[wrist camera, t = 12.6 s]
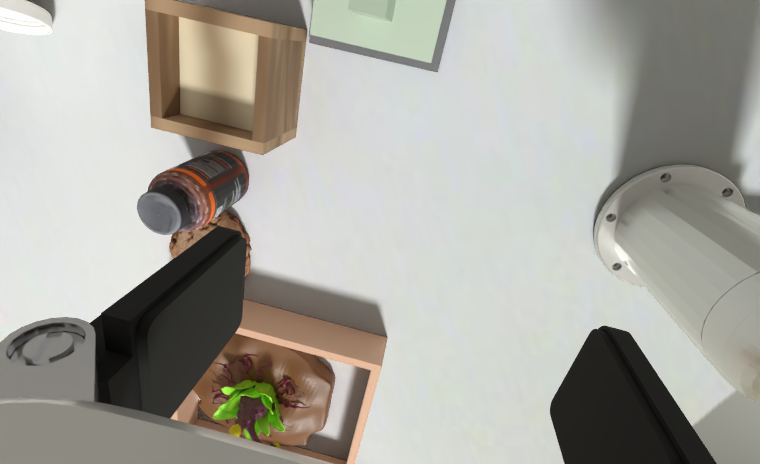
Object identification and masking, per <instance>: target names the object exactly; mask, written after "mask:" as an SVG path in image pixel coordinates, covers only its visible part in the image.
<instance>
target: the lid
mask: <svg viewBox="0 0 760 464" xmlns="http://www.w3.org/2000/svg"><path fill="white" fill-rule="evenodd" d="M446 1H447V0H314V2H313V10H312V19H311V27H310V35H314V36H318V37H322V38H327V39H331V40H335V41H339V42H343V43H348V44H352V45H356V46H360V47H365V48H369V49H373V50H377V51H381V52H386V53H390V54H394V55H398V56H403V57H407V58H411V59H415V60H419V61H424V62H428V63H431V62H432V58H433V54H434V50H435V46H436V42H437V38H438V34H439V29H440V25H441V21H442V17H443V13H444V9H445V5H446Z"/></svg>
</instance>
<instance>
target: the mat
mask: <svg viewBox="0 0 760 464" xmlns="http://www.w3.org/2000/svg"><path fill="white" fill-rule="evenodd" d="M454 4H455V0H447V1H446V5H445V9H444V13H443V17H442V21H441V25H440V29H439V34H438V38H437V42H436V46H435V50H434V54H433V58H432V62H431V63H428V62H424V61H419V60H415V59H411V58H407V57H403V56H398V55H394V54H390V53H386V52H381V51H377V50H373V49H369V48H365V47H360V46H356V45H352V44H348V43H343V42H339V41H335V40H331V39H327V38H322V37H318V36H314V35H310V40H309V43H313V44H317V45H322V46H326V47H330V48H334V49H339V50H343V51H347V52H352V53H356V54H360V55H365V56H369V57H373V58H378V59H382V60H386V61H391V62H395V63H399V64H404V65H408V66H412V67H417V68H421V69H425V70H430V71H434V72H438V68H439V64H440V60H441V56H442V52H443V48H444V44H445V40H446V36H447V32H448V28H449V24H450V20H451V16H452V12H453V8H454Z"/></svg>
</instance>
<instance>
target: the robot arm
mask: <svg viewBox="0 0 760 464" xmlns="http://www.w3.org/2000/svg"><path fill="white" fill-rule="evenodd" d="M662 175H663V176H662ZM661 176H662V177H661ZM660 177H661V178H660ZM609 214H610V215H609ZM607 215H609V216H607ZM594 243H595V249H596V251H597V254H598V256H599V258H600V259H601V261H602V262H603V264H604V265H605V266H606V268H607V269H608V270H609V271H610V272H611V273H612V274H613V275H615V276H616V277H618V278H619V279H621V280H623V281H625V282H627V283H629V284H632V285H636V286H640V287H645V288H646V289H647V290H648V291H649V292H650V294H651V295H652V296H653V297H654V298H655V299H656V301H657V302H658V303H659V304H660V305H661V306H662V308H663V309H664V310H665V311H666V312H667V313H668V315H669V316H670V317H671V318H672V319H673V320H674V322H675V323H676V324H677V325H678V326H679V327H680V329H681V330H682V331H683V332H684V333H685V334H686V336H687V337H688V338H689V339H690V340H691V341H692V343H693V344H694V345H695V346H696V347H697V348H698V349H699V351H700V352H701V353H702V354H703V355H704V356H705V357H706V359H707V360H708V361H709V362H710V363H711V364H712V365H713V367H714V368H715V369H716V370H717V371H718V372H719V373H720V375H721V376H722V377H723V378H724V379H725V380H726V381H727V382H728V383H729V384H730V385H731V386H732V387H734V388H735V389H736V390H737V391H739V392H740V393H741V394H743V395H744V396H746V397H747V398H749V399H751V400H753V401H754V402H756V403H758V404H760V216H758V215H756V214H754V213H753V212H751V211H749V210H747V209H746V207H745V203H744V199H743V197H742V195H741V193H740V192H739V190H738V188H737V187H736V186H735V185H734V184H733V183H732V182H731V181H730V180H729V179H727V178H725V177H724V176H722V175H721V174H719V173H717V172H714V171H712V170H710V169H707V168H703V167H699V166H695V165H681V164H678V165H669V166H663V167H659V168H656V169H652V170H649V171H647V172H644V173H642V174H640V175H638V176H635V177H634V178H632V179H631V180H629V181H628V182H626V183H625V184H623V185H622V186H621V187H620V188H619V189H617V190H616V191H615V192H614V193H613V194H612V195H611V196H610V198H609V199H608V200H607V201H606V203H605V204H604V206H603V207H602V209H601V211H600V213H599V215H598V217H597V221H596V224H595V228H594ZM246 251H247V240H246V238H243V237H242V235H241V232H240V231H237V230H233V229H230V228H226V227H222V226H217V227H216V228H214V229H213V230H212V231H210V232H209V233H208V234H206V235H205V236H204V237H202V238H201V239H200V240H198V241H197V242H196V243H194V244H193V245H192V246H190V247H189V248H188V249H186V250H185V251H184V252H182V253H181V254H180V255H178V256H177V257H176V258H174V259H173V260H172V261H170V262H169V263H168V264H166V265H165V266H164V267H162V268H161V269H160V270H158V271H157V272H156V273H154V274H153V275H152V276H150V277H149V278H148V279H146V280H145V281H144V282H142V283H141V284H140V285H138V286H137V287H136V288H134V289H133V290H132V291H130V292H129V293H128V294H126V295H125V296H124V297H122V298H121V299H120V300H118V301H117V302H116V303H114V304H113V305H112V306H110V307H109V308H108V309H106V310H105V311H104V312H102V313H101V315H100V316H99V317H97V318H96V319H95V320H93V321H92V322H91V323H88V322H86V321H84V320H81V319H78V318H68V317H62V318H50V319H46V320H42V321H37V322H34V323H32V324H29V325H26V326H24V327H21V328H20V329H18V330H16V331H14V332H13V333H11V334H9V335H8V336H7V337H6V338H5V339H4V340H3V341H1V342H0V464H333V463H329V462H326V461H322V460H319V459H315V458H312V457H308V456H304V455H301V454H297V453H294V452H290V451H287V450H283V449H280V448H276V447H272V446H269V445H265V444H262V443H258V442H255V441H251V440H247V439H244V438H240V437H237V436H233V435H230V434H226V433H223V432H219V431H215V430H212V429H208V428H204V427H200V426H196V425H192V424H189V423H185V422H181V421H177V420H173V419H170V418H171V417H172V416H173V414H174V413H175V412H176V411H177V409H178V408H179V407H180V405H181V404H182V403H183V401H184V400H185V399H186V397H187V396H188V395H189V393H190V392H191V391H192V389H193V388H194V387H195V385H196V384H197V383H198V381H199V380H200V379H201V377H202V376H203V375H204V374H205V372H206V371H207V370H208V368H209V367H210V366H211V364H212V363H213V362H214V360H215V359H216V358H217V356H218V355H219V354H220V352H221V351H222V350H223V348H224V347H225V346H226V344H227V343H228V342H229V340H230V339H231V338H232V336H233V335H234V334H235V333H236V331H237V330H238V328H239V326H240V324H241V320H242V313H243V298H244V282H245V266H246ZM550 415H551V419H552V422H553V425H554V429H555V432H556V436H557V439H558V443H559V446H560V449H561V453H562V456H563V460H564V463H565V464H716V462H715V461H714V459H713V458H712V456H711V455H710V453H709V452H708V450H707V448H706V447H705V445H704V444H703V442H702V441H701V440H700V438H699V436H698V435H697V433H696V432H695V430H694V429H693V427H692V426H691V424H690V423H689V421H688V420H687V418H686V417H685V415H684V414H683V412H682V411H681V409H680V408H679V406H678V405H677V403H676V402H675V400H674V399H673V397H672V396H671V394H670V393H669V391H668V390H667V388H666V387H665V385H664V384H663V382H662V381H661V379H660V378H659V376H658V375H657V373H656V372H655V370H654V369H653V367H652V366H651V364H650V363H649V361H648V360H647V358H646V357H645V355H644V354H643V352H642V351H641V349H640V348H639V346H638V345H637V343H636V342H635V340H634V339H633V337H632V335H631V334H630V333H629V332H627V331H623V330H620V329H616V328H612V327H608V326H601V327H600V328H599V329H598V330H597V329H594V330H592V331H591V332H590V334H589V336H588V337H587V339H586V341H585V343H584V345H583V346H582V348H581V350H580V352H579V354H578V355H577V357H576V359H575V361H574V362H573V364H572V366H571V368H570V370H569V371H568V373H567V375H566V377H565V378H564V380H563V382H562V384H561V386H560V387H559V389H558V391H557V393H556V394H555V396H554V398H553V400H552V402H551V406H550Z"/></svg>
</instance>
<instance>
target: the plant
mask: <svg viewBox="0 0 760 464" xmlns="http://www.w3.org/2000/svg"><path fill="white" fill-rule="evenodd" d="M334 383H335V375H334V373H333V372H332V371H331V370H330V369H328V368H327V367H326V366H325V365H324V364H323V363H322V362H321V361H320V360H319V359H318V358H317V356H316V355H313V354H309V353H306V352H302V351H298V350H295V349H291V348H287V347H284V346H280V345H276V344H273V343H269V342H266V341H262V340H258V339H255V338H251V337H247V336H244V335H240V334H236V333H235V334H234V335H233V336H232V338H231V339H230V340H229V342H228V343H227V344H226V346H225V347H224V348H223V350H222V351H221V352H220V354H219V355H218V356H217V358H216V359H215V360H214V362H213V363H212V364H211V366H210V367H209V368H208V370H207V371H206V372H205V374H204V375H203V376H202V377H201V379H200V380H199V381H198V383H197V384H196V385H195V387H194V388H193V391H194V392H195V393H196V394H197V395H198V397H199V398H200V399H201V400H200V402H199V403H198V406H199V407H200V409H201V410H202V411H203V412H204V413H205V414H206V415H207V416H208V417H209V418H210V419H212V420H213V421H215V422H217V423H219V424H222V425H224V426H226V427H228V428H230V429H229V433H228V434H230V435H233V436H237V437H240V434H242V435H244V436H246V438H247V440H251V441H255V442H258V443H262V442H261V441H260V440H262V441H264V442H266V443H268V444H270V445H269V446H272V447H276V448H280V445H281V446H296V445H302V446H305V445H306V444H307V443H308V440H309V437H310V435H311V434H313V433H315V432H318V431H321V430H322V429H323V428H324V426H325V424H326V421H327V418H328V413H329V408H330V403H331V397H332V393H333V389H334ZM262 444H263V443H262Z"/></svg>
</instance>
